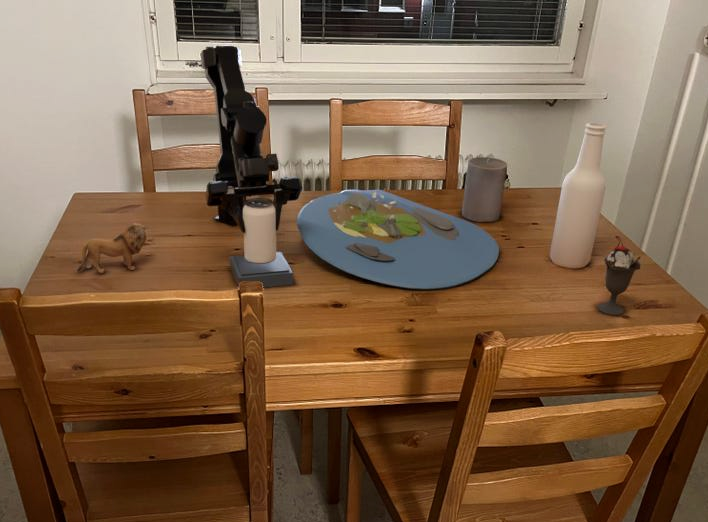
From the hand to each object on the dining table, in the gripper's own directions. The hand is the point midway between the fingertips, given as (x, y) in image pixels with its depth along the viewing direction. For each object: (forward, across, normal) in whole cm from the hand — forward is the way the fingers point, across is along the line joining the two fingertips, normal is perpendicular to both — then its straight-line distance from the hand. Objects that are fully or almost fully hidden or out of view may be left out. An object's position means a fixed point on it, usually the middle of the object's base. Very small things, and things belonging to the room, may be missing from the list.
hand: (260, 230), depth 146 cm
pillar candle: (-9, +61, +24) cm, 67 cm away
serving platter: (+1, +33, +14) cm, 36 cm away
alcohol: (+12, +68, +2) cm, 69 cm away
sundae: (+28, +63, -14) cm, 71 cm away
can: (+4, 0, +6) cm, 7 cm away
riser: (+7, 0, +8) cm, 10 cm away
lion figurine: (-1, -28, +16) cm, 33 cm away
